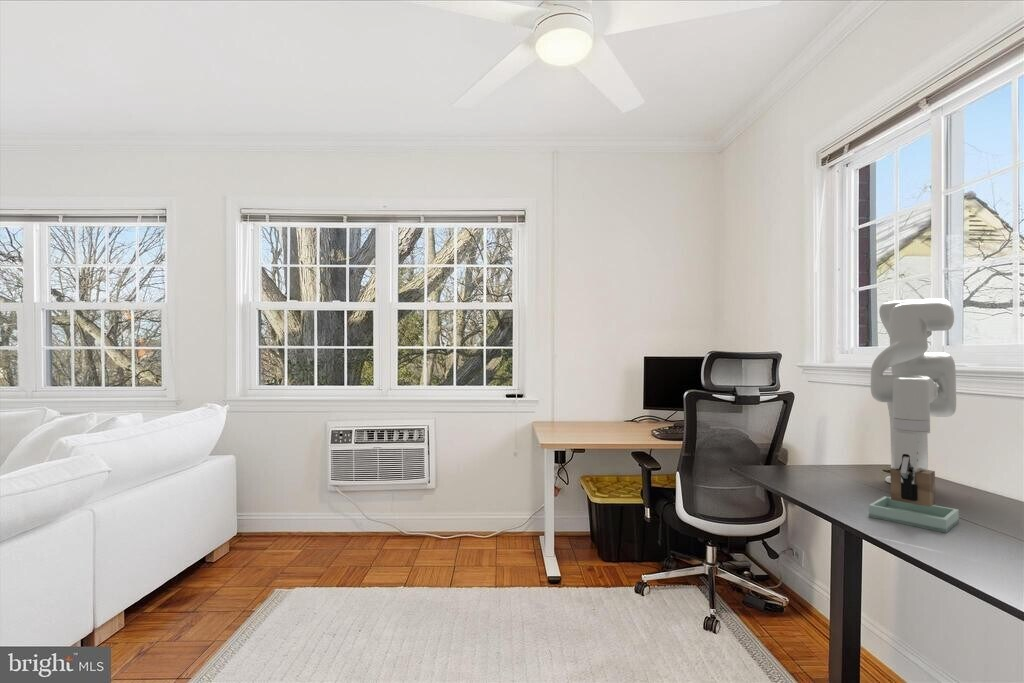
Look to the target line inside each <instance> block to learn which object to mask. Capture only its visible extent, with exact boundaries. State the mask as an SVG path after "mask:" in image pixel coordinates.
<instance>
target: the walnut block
mask: <svg viewBox="0 0 1024 683" xmlns="http://www.w3.org/2000/svg"><path fill="white" fill-rule="evenodd" d="M889 470H890V471H889V472H890V475H889V476H891V483H890V497H891V500H895V501H901V502H906V503H912V504H917V505H923V506H929V507H931V506H932V505H935V504H936V470H930V469H928V470H924V469H923V470H921V471H919V472H917V473H916V484H915V485H917V498H918V500H917V501H912V500H906V499H902V498H901V468H900V469H899V470H898V469H897V470H895V469H894V467H892V468H891V467H890V468H889ZM908 471H912V469H909V470H908ZM912 472H913V471H912ZM909 475H911V476H912V474H909Z"/></svg>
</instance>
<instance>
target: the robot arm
mask: <svg viewBox="0 0 1024 683" xmlns="http://www.w3.org/2000/svg"><path fill="white" fill-rule="evenodd" d="M879 317H880V321H881V323H882V326H883V327H884V328H885V330H886V332H887V334H888V337H889V345H888V346H887V348H885V349H883V351H881V352H880V353H879V354H878V355H877V356H876V358H875V359H874V360H873V363H872V366H871V369H870V392H871V393H870V394H871V396H872V398H873V399H874V400H875V401H877V402H879V403H886V405H887V410H888V415H889V416H888V417H889V423H890V424H889V427H890V434H889V436H890V468H892V467H894V469H895V470H897V469H898V470H899V469H900V468H901V498H902V499H906V500H912V501H917V500H918V498H917V485H915V484H916V473H917V472H919V471H921V470H923V469H924V470H929V455H928V454H929V448H928V447H929V446H928V444H929V443H928V442H929V441H928V434H931V420H930V419H931V417H935V418H937V417H939V418H948V417H952V416H954V415H955V413H956V410H957V379H956V378H957V375H956V374H957V373H956V363H955V359H954V358H953V356H952V355H951V354H949V353H947V352H941V351H935V352H933V351H932V352H931V351H929V352H927V351H928V346H929V345H928V332H936V331H937V332H938V331H940V332H941V331H942V332H943V331H949V330H951V329H952V328H953V325H954V323H955V312H954V308H953V306H952V304H951V303H950V302H949V300H948V299H945V298H924V299H904V300H892V301H888V302H884V303H883V304H881V305H880V307H879ZM888 369H890V370H891V374H884V372H885V371H886V370H888ZM909 469H912V471H913V472H912V471H908V470H909ZM909 474H912V476H911V475H909ZM885 482H886V483H889V484H891V475H889V476H886V477H885Z"/></svg>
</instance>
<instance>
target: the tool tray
mask: <svg viewBox="0 0 1024 683" xmlns="http://www.w3.org/2000/svg"><path fill="white" fill-rule="evenodd" d="M959 511H960V510H959V509H958V508H951V507H946V506H940V505H935V504H933V505H932V506H931V507H929V506H923V505H917V504H912V503H906V502H901V501H895V500H891V496H885V495H884V496H882V497H880V498H879V499H877V500H875V501H874V502H871V503H870V504H868V517H869V518H872V519H873V518H874V519H878V520H883V521H887V522H892V523H897V524H902V525H906V526H912V527H915V528H916V527H917V528H921V529H925V530H930V531H936V532H941V533H944V534H947V533H948V532H949V531H950V530H951V529H952V528H954V527H955V526H956V525H957V524H958V523H959V522H960V518H959V517H960V512H959Z"/></svg>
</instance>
